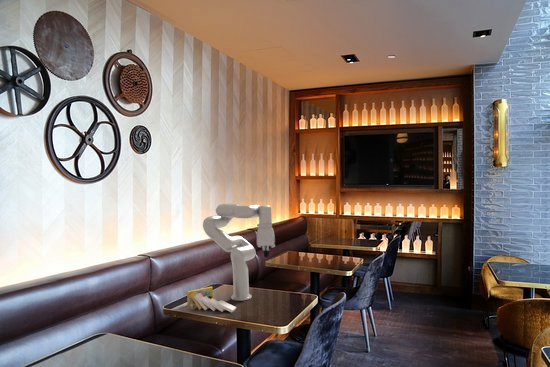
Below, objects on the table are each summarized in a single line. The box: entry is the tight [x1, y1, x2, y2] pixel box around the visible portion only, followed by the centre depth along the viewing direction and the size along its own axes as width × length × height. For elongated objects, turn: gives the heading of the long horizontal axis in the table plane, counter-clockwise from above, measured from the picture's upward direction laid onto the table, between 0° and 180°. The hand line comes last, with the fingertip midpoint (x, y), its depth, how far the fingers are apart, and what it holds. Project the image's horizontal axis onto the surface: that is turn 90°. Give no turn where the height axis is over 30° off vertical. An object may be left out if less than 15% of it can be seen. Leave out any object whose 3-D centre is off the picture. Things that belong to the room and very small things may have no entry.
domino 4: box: [208, 297, 226, 313], centre depth 223 cm, size 2×5×10 cm
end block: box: [187, 297, 198, 311], centre depth 228 cm, size 3×6×6 cm, turn 161°
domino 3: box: [200, 296, 218, 312], centre depth 225 cm, size 2×5×10 cm
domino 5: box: [217, 299, 237, 313], centre depth 222 cm, size 2×5×10 cm
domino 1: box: [190, 291, 203, 311], centre depth 227 cm, size 2×5×10 cm
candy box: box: [186, 286, 214, 306], centre depth 239 cm, size 16×2×8 cm, turn 126°
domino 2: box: [194, 293, 210, 311], centre depth 226 cm, size 2×5×10 cm
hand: (266, 257), depth 233 cm, fingers closed
